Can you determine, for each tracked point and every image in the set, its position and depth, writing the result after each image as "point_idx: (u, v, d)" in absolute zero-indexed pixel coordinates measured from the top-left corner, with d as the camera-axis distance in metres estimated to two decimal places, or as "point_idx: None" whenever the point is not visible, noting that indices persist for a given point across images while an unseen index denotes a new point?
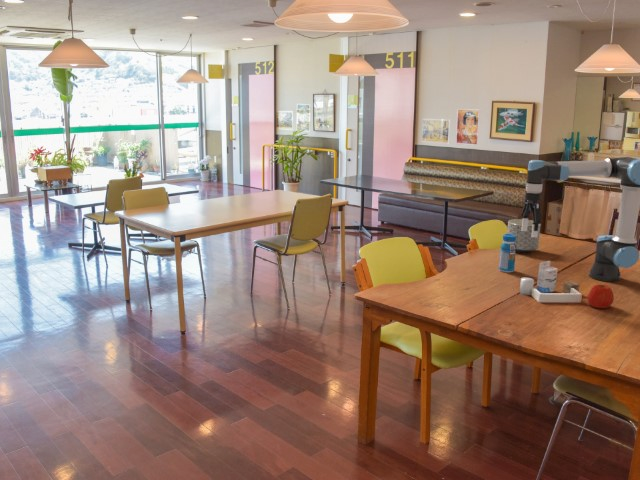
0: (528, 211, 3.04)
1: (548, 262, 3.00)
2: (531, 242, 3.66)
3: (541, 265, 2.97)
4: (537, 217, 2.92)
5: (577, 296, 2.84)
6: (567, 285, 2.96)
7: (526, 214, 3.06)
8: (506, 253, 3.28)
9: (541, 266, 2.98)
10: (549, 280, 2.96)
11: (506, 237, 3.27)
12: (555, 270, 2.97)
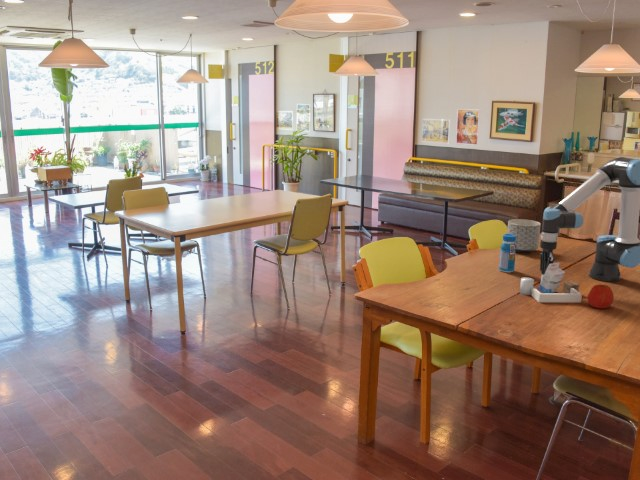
0: None
1: (557, 263, 2.95)
2: (531, 242, 3.66)
3: (549, 266, 2.93)
4: None
5: (577, 296, 2.84)
6: (567, 285, 2.96)
7: None
8: (506, 253, 3.28)
9: (549, 267, 2.93)
10: (553, 283, 2.93)
11: (506, 237, 3.27)
12: (562, 273, 2.93)
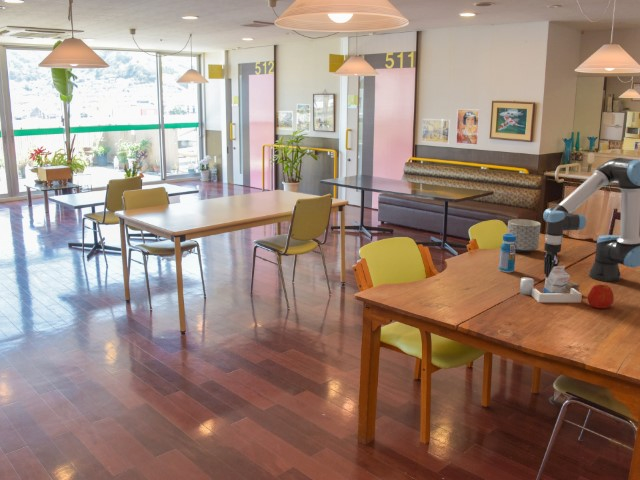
0: None
1: (563, 267, 2.90)
2: (531, 242, 3.66)
3: (554, 269, 2.88)
4: None
5: (577, 296, 2.84)
6: (567, 285, 2.96)
7: None
8: (506, 253, 3.28)
9: (553, 270, 2.88)
10: (557, 286, 2.89)
11: (506, 237, 3.27)
12: (567, 277, 2.88)
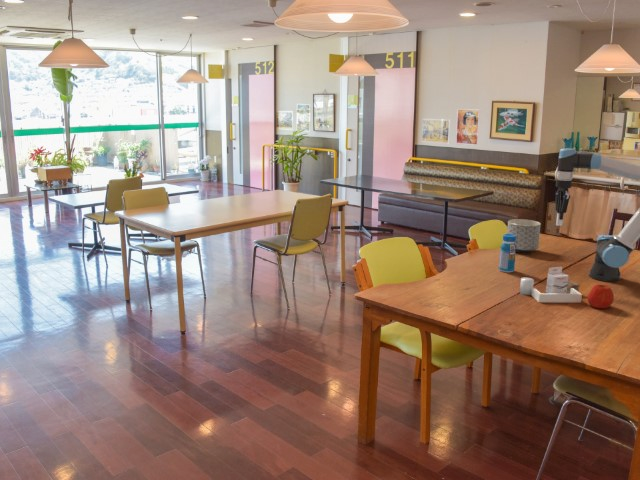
0: None
1: (559, 268, 2.90)
2: (531, 242, 3.66)
3: (550, 271, 2.88)
4: (564, 207, 3.05)
5: (577, 296, 2.84)
6: (567, 285, 2.96)
7: None
8: (506, 253, 3.28)
9: (550, 272, 2.88)
10: (558, 287, 2.86)
11: (506, 237, 3.27)
12: (565, 277, 2.86)
